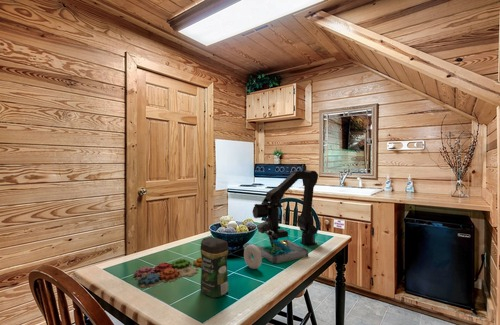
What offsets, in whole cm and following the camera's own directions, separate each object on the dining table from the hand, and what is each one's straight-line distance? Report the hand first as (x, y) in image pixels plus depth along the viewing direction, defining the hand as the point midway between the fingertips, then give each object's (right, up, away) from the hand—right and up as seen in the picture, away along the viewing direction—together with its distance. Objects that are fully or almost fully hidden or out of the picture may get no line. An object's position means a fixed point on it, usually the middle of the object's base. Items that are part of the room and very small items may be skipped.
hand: (272, 246), depth 133 cm
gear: (+3, -2, -7) cm, 7 cm away
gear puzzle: (-42, -3, -25) cm, 49 cm away
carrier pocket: (+4, -1, -6) cm, 7 cm away
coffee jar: (-24, -2, -42) cm, 49 cm away
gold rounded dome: (+7, -1, +6) cm, 9 cm away
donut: (-10, -2, -23) cm, 25 cm away
